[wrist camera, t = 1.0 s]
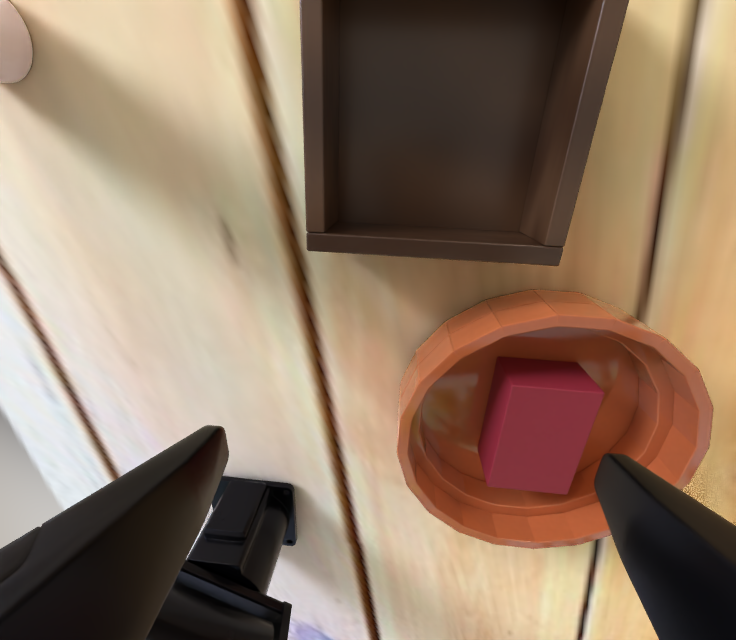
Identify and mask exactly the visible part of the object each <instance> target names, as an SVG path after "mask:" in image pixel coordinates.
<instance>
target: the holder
mask: <svg viewBox="0 0 736 640" xmlns="http://www.w3.org/2000/svg"><path fill="white" fill-rule="evenodd" d="M628 3H629V0H300V29H301V64H302V98H303V133H304V167H305V201H306V230H307V234H306V235H307V250H308V251H319V252H336V253H352V254H368V255H384V256H401V257H417V258H433V259H449V260H466V261H482V262H498V263H514V264H531V265H547V266H559V263H560V260H561V256H562V252H563V247H564V245H565V241H566V237H567V234H568V230H569V226H570V222H571V218H572V215H573V211H574V207H575V203H576V200H577V196H578V192H579V188H580V184H581V181H582V177H583V173H584V169H585V166H586V162H587V158H588V154H589V150H590V147H591V143H592V139H593V135H594V131H595V128H596V124H597V120H598V116H599V113H600V109H601V105H602V101H603V97H604V94H605V90H606V86H607V82H608V78H609V75H610V71H611V67H612V63H613V60H614V56H615V52H616V48H617V44H618V41H619V37H620V33H621V29H622V25H623V22H624V18H625V14H626V10H627V7H628Z"/></svg>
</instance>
